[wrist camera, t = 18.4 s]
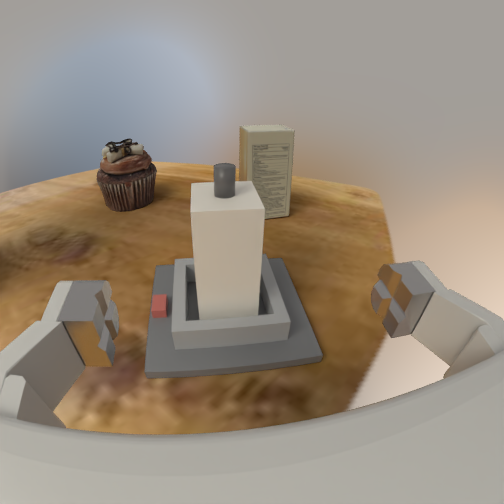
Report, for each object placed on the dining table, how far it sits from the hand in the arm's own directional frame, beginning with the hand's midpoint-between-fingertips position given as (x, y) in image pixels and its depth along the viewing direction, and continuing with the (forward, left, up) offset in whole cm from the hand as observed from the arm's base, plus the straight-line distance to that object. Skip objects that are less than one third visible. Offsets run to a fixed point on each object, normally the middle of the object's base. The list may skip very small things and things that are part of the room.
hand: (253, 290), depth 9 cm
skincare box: (-32, +7, -13) cm, 35 cm away
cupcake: (-39, -13, -13) cm, 43 cm away
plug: (-13, 0, -12) cm, 18 cm away
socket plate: (-13, 0, -13) cm, 18 cm away
